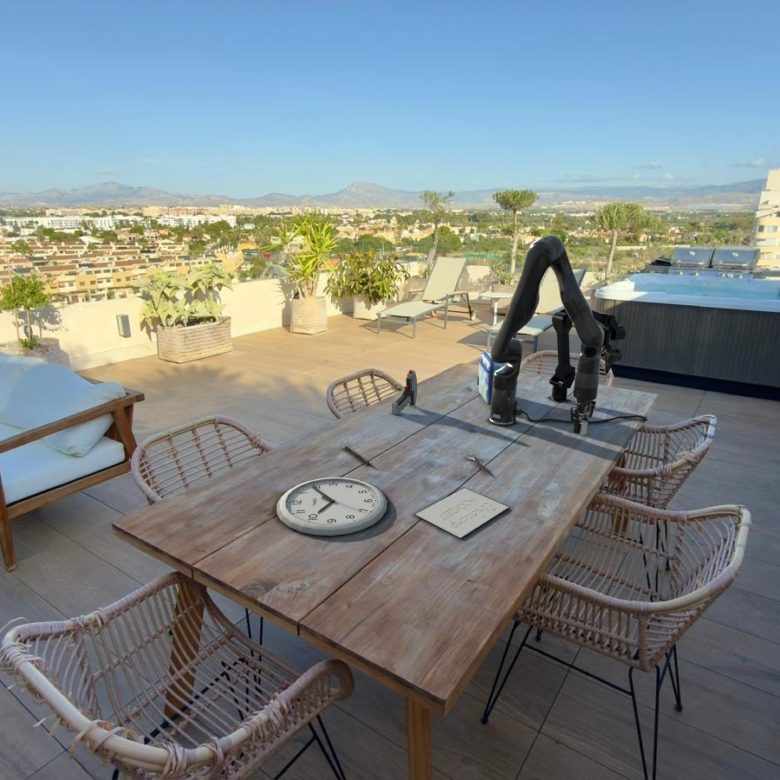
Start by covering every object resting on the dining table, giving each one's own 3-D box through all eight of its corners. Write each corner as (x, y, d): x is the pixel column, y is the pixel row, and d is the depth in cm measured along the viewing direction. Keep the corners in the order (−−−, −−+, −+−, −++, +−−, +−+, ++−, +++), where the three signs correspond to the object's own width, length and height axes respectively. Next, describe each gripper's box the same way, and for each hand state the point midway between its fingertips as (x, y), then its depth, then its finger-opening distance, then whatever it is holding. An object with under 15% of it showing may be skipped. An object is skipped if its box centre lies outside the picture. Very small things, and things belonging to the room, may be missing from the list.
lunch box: (475, 390, 246) (478, 346, 240) (498, 390, 246) (501, 347, 240) (484, 408, 221) (487, 360, 215) (509, 409, 221) (513, 360, 215)
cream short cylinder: (586, 435, 179) (588, 424, 178) (574, 434, 180) (576, 423, 178) (585, 431, 183) (586, 420, 181) (573, 430, 183) (574, 419, 182)
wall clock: (392, 527, 129) (268, 531, 127) (391, 533, 130) (269, 537, 127) (383, 473, 158) (282, 475, 155) (383, 478, 158) (282, 480, 156)
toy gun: (391, 378, 208) (412, 368, 219) (392, 415, 214) (412, 403, 225) (395, 379, 207) (417, 369, 218) (396, 416, 212) (417, 405, 223)
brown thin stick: (344, 448, 179) (344, 445, 179) (346, 448, 179) (346, 445, 179) (367, 464, 167) (367, 462, 167) (368, 464, 167) (368, 461, 167)
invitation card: (464, 487, 153) (508, 506, 143) (464, 488, 153) (508, 507, 143) (415, 513, 138) (460, 537, 128) (415, 514, 138) (460, 538, 128)
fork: (483, 474, 162) (483, 469, 161) (463, 454, 176) (463, 448, 176) (491, 474, 162) (491, 468, 162) (470, 453, 177) (470, 447, 176)
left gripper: (586, 390, 169) (579, 440, 174) (606, 382, 178) (599, 429, 183) (565, 385, 174) (559, 433, 179) (585, 378, 183) (579, 423, 188)
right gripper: (599, 346, 226) (594, 381, 231) (632, 343, 232) (627, 377, 237) (581, 341, 236) (577, 374, 240) (614, 338, 242) (609, 371, 247)
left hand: (579, 431), depth 181 cm, fingers closed on cream short cylinder, 4 cm apart
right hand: (598, 374), depth 241 cm, fingers open, 9 cm apart
